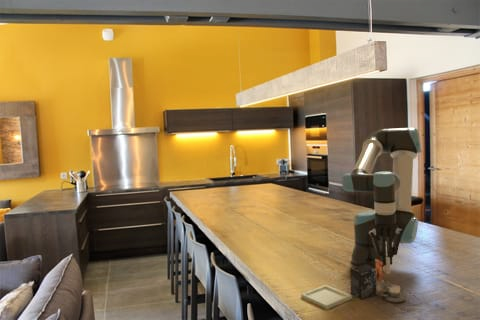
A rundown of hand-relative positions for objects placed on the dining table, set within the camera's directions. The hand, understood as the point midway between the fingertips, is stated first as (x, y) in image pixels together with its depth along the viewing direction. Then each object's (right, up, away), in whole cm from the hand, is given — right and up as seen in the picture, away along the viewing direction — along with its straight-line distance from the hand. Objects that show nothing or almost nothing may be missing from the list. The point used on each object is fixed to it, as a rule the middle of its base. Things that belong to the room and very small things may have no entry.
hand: (387, 272), depth 155 cm
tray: (-25, -8, -5) cm, 26 cm away
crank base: (-1, -7, -9) cm, 11 cm away
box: (-10, -7, -4) cm, 13 cm away
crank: (-2, -5, -4) cm, 7 cm away
